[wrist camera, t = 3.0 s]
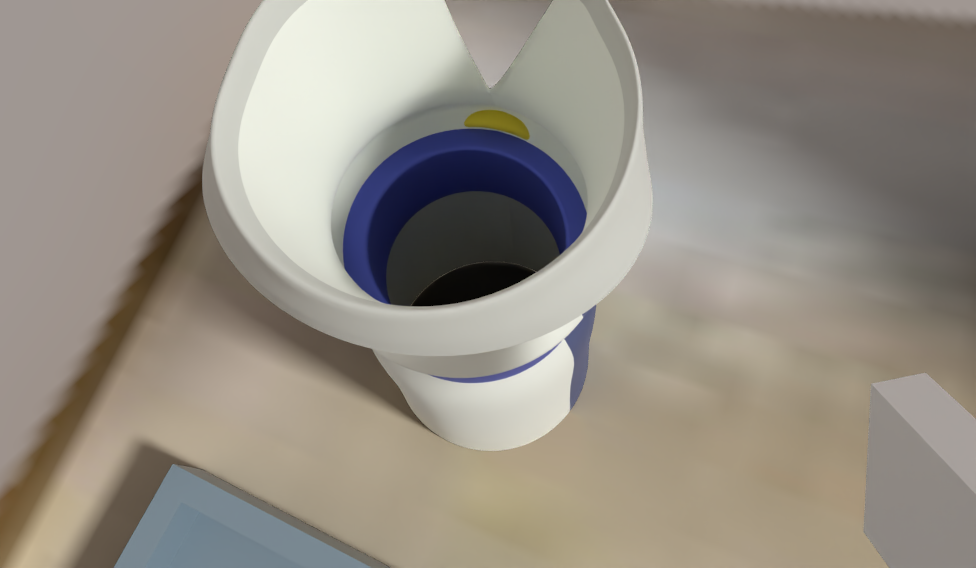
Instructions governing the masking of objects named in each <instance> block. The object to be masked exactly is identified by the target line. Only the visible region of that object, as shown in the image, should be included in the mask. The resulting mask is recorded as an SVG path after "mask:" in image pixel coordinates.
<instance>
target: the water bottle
mask: <svg viewBox="0 0 976 568" xmlns="http://www.w3.org/2000/svg"><path fill="white" fill-rule="evenodd" d="M202 189H203V198H204V204H205V208H206V212H207V215H208V218H209V221H210V224H211V227H212V229H213V231H214V233H215V235H216V237H217V239H218V241H219V243H220V245H221V246H222V248H223V250H224V251H225V253H226V254H227V256H228V257H229V259H230V260H231V262H232V263H233V264H234V266H235V267H236V268H237V269H238V271H239V272H240V273H241V274H242V275H243V276H244V277H245V278H246V280H247V281H248V282H249V283H250V284H251V285H252V286H253V287H254V288H255V289H256V290H258V291H259V292H260V293H261V294H262V295H263V296H264V297H266V298H267V299H268V300H269V301H271V302H272V303H273V304H275V305H276V306H277V307H279V308H280V309H281V310H283V311H284V312H286V313H288V314H289V315H291V316H292V317H294V318H296V319H297V320H299V321H301V322H303V323H304V324H306V325H308V326H310V327H312V328H314V329H316V330H318V331H321V332H323V333H325V334H328V335H330V336H332V337H335V338H338V339H340V340H343V341H346V342H349V343H352V344H356V345H359V346H363V347H367V348H371V349H372V350H373V352H374V354H375V355H376V357H377V359H378V360H379V362H380V363H381V365H382V366H383V368H384V369H385V370H386V372H387V373H388V374H389V376H390V377H391V378H392V379H393V381H394V382H395V383H396V384H397V385H398V387H399V388H400V390H401V392H402V393H403V395H404V397H405V399H406V401H407V403H408V405H409V406H410V408H411V409H412V411H413V412H414V413H415V415H416V416H417V417H418V418H419V419H420V421H421V422H422V423H423V424H424V425H426V426H427V427H428V428H429V429H430V430H431V431H433V432H434V433H435V434H437V435H438V436H440V437H442V438H443V439H445V440H447V441H449V442H451V443H454V444H456V445H459V446H462V447H465V448H469V449H475V450H482V451H500V450H507V449H512V448H516V447H520V446H523V445H526V444H528V443H531V442H533V441H535V440H537V439H539V438H540V437H542V436H544V435H545V434H547V433H548V432H550V431H551V430H552V429H553V428H555V427H556V426H557V425H558V424H559V423H560V422H561V421H562V420H563V419H564V418H565V417H566V415H567V414H568V413H569V412H570V410H571V409H572V407H573V406H574V404H575V402H576V401H577V399H578V397H579V395H580V392H581V390H582V387H583V385H584V381H585V378H586V373H587V367H588V352H589V341H590V337H591V333H592V329H593V324H594V318H595V311H596V304H597V303H599V302H600V301H601V300H602V299H603V298H605V297H606V296H607V295H608V294H609V293H610V292H611V291H612V290H613V289H614V288H615V287H616V286H617V285H618V284H619V283H620V282H621V280H622V279H623V278H624V277H625V275H626V274H627V273H628V271H629V270H630V269H631V267H632V266H633V264H634V263H635V261H636V259H637V257H638V256H639V254H640V252H641V250H642V248H643V245H644V243H645V240H646V238H647V235H648V232H649V228H650V224H651V218H652V209H653V193H652V183H651V177H650V171H649V166H648V160H647V153H646V145H645V138H644V129H643V99H642V88H641V80H640V75H639V70H638V66H637V61H636V58H635V55H634V52H633V49H632V46H631V43H630V41H629V39H628V36H627V34H626V32H625V30H624V28H623V26H622V24H621V23H620V21H619V19H618V17H617V15H616V14H615V12H614V10H613V8H612V7H611V5H610V3H609V1H608V0H553V1H552V2H551V4H550V5H549V7H548V9H547V10H546V12H545V13H544V15H543V16H542V18H541V20H540V21H539V23H538V24H537V26H536V27H535V29H534V31H533V32H532V34H531V35H530V37H529V38H528V40H527V42H526V43H525V45H524V46H523V48H522V49H521V51H520V52H519V54H518V55H517V57H516V58H515V60H514V61H513V63H512V64H511V66H510V67H509V69H508V70H507V72H506V73H505V74H504V76H503V77H502V78H501V79H500V81H499V82H498V83H497V84H496V85H495V86H494V87H492V88H489V87H488V86H487V85H486V83H485V81H484V79H483V78H482V76H481V74H480V72H479V70H478V69H477V67H476V65H475V63H474V61H473V59H472V57H471V56H470V54H469V52H468V50H467V48H466V46H465V44H464V42H463V40H462V38H461V36H460V34H459V32H458V30H457V27H456V25H455V23H454V21H453V19H452V17H451V14H450V12H449V10H448V7H447V5H446V3H445V0H263V1H262V2H261V4H260V5H259V6H258V8H257V9H256V11H255V12H254V14H253V15H252V17H251V18H250V20H249V22H248V23H247V25H246V27H245V29H244V31H243V33H242V35H241V37H240V39H239V41H238V43H237V46H236V48H235V51H234V53H233V55H232V57H231V60H230V62H229V64H228V67H227V70H226V72H225V75H224V78H223V80H222V83H221V86H220V89H219V92H218V95H217V98H216V102H215V106H214V110H213V115H212V121H211V128H210V135H209V139H208V143H207V147H206V152H205V157H204V163H203V172H202ZM480 262H507V263H514V264H518V265H521V266H524V267H526V268H529V269H531V270H534V271H536V273H535V274H533V275H531V276H530V277H528V278H526V279H524V280H523V281H521V282H519V283H517V284H515V285H513V286H510V287H508V288H506V289H503V290H501V291H498V292H496V293H493V294H490V295H487V296H484V297H481V298H477V299H474V300H470V301H466V302H461V303H455V304H449V305H441V306H423V307H416V306H411V305H412V304H413V302H414V301H415V299H416V298H417V297H418V296H419V295H420V294H421V292H422V291H423V290H424V289H425V288H427V287H428V286H429V285H430V284H431V283H432V282H434V281H435V280H436V279H438V278H439V277H441V276H443V275H444V274H446V273H448V272H450V271H452V270H454V269H457V268H460V267H462V266H466V265H469V264H474V263H480Z"/></svg>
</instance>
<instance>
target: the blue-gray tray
mask: <svg viewBox="0 0 976 568" xmlns="http://www.w3.org/2000/svg"><path fill="white" fill-rule="evenodd" d="M114 568H391V567H389V566H387V565H385V564H383V563H381V562H379V561H377V560H375V559H373V558H371V557H369V556H367V555H366V554H364V553H362V552H360V551H358V550H356V549H354V548H352V547H350V546H348V545H346V544H344V543H342V542H341V541H339V540H337V539H335V538H333V537H331V536H329V535H327V534H325V533H323V532H321V531H319V530H317V529H315V528H314V527H312V526H310V525H308V524H306V523H304V522H302V521H300V520H298V519H296V518H294V517H292V516H290V515H289V514H287V513H285V512H283V511H281V510H279V509H277V508H275V507H273V506H271V505H269V504H267V503H265V502H264V501H262V500H260V499H258V498H256V497H254V496H252V495H250V494H248V493H246V492H244V491H242V490H240V489H238V488H237V487H235V486H233V485H231V484H229V483H227V482H225V481H223V480H221V479H219V478H217V477H215V476H213V475H212V474H210V473H208V472H206V471H204V470H202V469H197V468H192V467H187V466H182V465H177V464H172V466H171V468H170V469H169V471H168V473H167V475H166V476H165V478H164V480H163V482H162V483H161V485H160V487H159V489H158V491H157V492H156V494H155V496H154V498H153V499H152V501H151V503H150V505H149V506H148V508H147V510H146V512H145V513H144V515H143V517H142V519H141V520H140V522H139V524H138V526H137V527H136V529H135V531H134V533H133V534H132V536H131V538H130V540H129V542H128V543H127V545H126V547H125V549H124V550H123V552H122V554H121V556H120V557H119V559H118V561H117V563H116V564H115V566H114Z"/></svg>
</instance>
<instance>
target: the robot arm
mask: <svg viewBox="0 0 976 568" xmlns="http://www.w3.org/2000/svg"><path fill="white" fill-rule="evenodd" d="M864 533H865V534H866V536H867V537H868V539H869V540H870V541H871V543H872V544H873V546H874V547H875V548H876V550H877V551H878V552H879V554H880V555H881V557H882V558H883V559H884V561H885V562H886V564H887V565H888V566H889V568H976V419H975V418H974V417H973V416H972V415H971V414H970V413H969V412H968V411H967V410H966V409H964V408H963V407H962V406H961V405H960V404H959V403H958V402H957V401H956V400H955V399H954V398H953V397H951V396H950V395H949V394H948V393H947V392H946V391H945V390H944V389H943V388H942V387H941V386H940V385H938V384H937V383H936V382H935V381H934V380H933V379H932V378H931V377H930V376H929V375H928V374H927V373H922V374H917V375H912V376H907V377H902V378H897V379H892V380H888V381H883V382H878V383H873V384H871V396H870V416H869V435H868V455H867V474H866V494H865V514H864Z"/></svg>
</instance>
